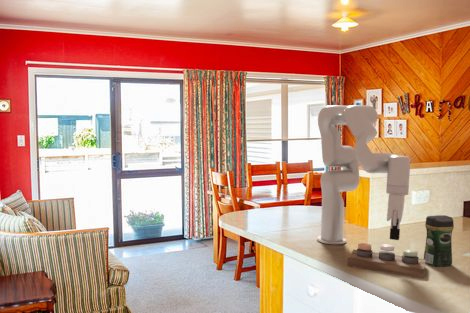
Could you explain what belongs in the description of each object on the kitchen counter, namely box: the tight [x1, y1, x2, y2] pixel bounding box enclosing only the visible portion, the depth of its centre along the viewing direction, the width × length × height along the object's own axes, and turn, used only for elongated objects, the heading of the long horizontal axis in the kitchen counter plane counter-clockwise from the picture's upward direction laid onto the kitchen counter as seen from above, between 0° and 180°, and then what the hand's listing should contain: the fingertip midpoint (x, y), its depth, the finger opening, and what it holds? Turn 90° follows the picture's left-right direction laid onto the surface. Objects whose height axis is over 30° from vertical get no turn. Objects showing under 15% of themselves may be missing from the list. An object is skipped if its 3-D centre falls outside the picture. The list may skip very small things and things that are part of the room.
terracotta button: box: [357, 243, 372, 250], centre depth 166 cm, size 5×5×1 cm
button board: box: [347, 247, 426, 278], centre depth 163 cm, size 12×26×5 cm, turn 65°
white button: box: [379, 243, 395, 252], centre depth 163 cm, size 5×5×1 cm
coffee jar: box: [423, 214, 455, 267], centre depth 167 cm, size 10×8×19 cm
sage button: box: [402, 248, 419, 257], centre depth 160 cm, size 5×5×1 cm
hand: (394, 239), depth 162 cm, fingers closed
